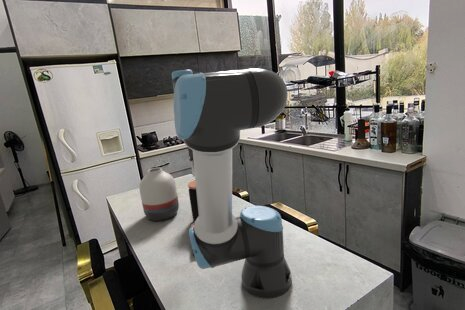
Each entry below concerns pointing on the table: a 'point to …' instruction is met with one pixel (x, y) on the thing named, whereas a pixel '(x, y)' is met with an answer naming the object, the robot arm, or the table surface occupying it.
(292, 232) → the table surface
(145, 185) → the vase
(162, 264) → the table surface
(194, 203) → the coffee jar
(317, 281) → the table surface
